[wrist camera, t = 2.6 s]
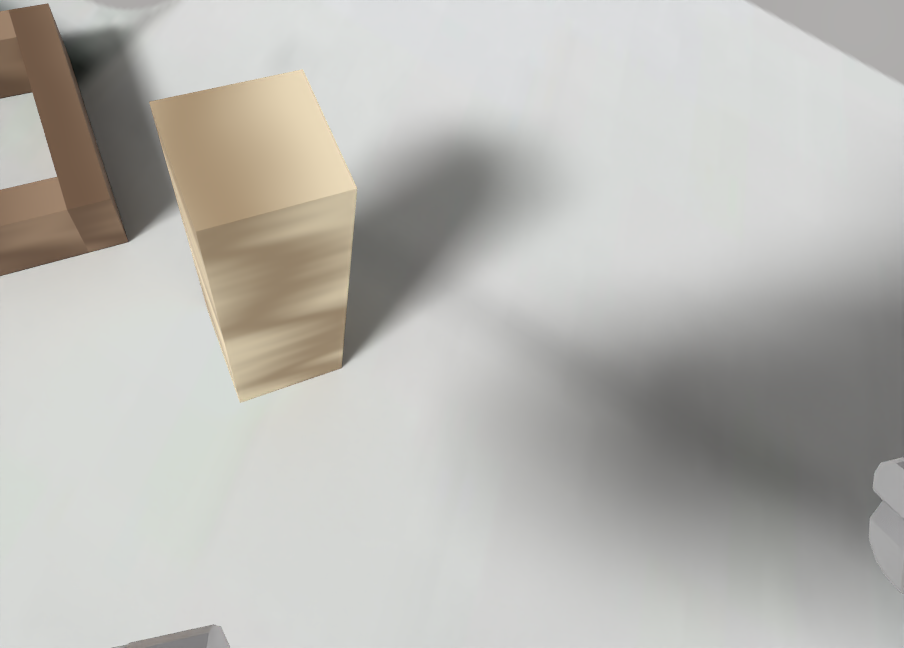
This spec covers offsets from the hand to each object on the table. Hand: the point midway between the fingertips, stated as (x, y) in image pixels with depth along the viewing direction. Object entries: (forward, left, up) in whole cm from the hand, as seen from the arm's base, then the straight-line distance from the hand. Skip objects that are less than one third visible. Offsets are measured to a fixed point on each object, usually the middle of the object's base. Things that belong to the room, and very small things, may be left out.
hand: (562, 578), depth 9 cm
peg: (0, -12, -19) cm, 22 cm away
